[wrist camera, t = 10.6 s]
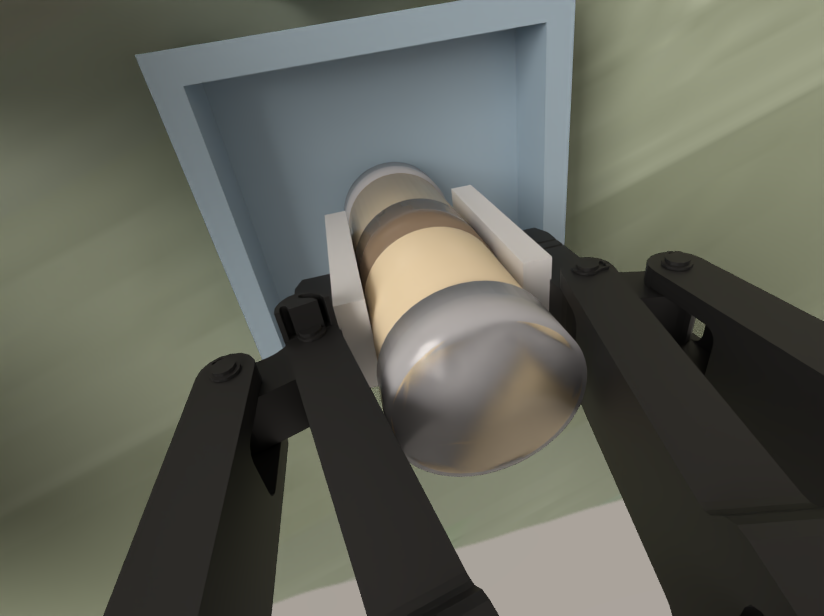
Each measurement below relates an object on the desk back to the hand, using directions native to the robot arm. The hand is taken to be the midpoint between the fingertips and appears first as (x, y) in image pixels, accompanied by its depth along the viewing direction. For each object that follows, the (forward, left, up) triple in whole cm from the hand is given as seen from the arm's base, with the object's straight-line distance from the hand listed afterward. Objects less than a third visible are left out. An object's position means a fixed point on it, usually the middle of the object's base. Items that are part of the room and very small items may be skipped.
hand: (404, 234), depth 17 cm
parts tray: (0, 0, -4) cm, 4 cm away
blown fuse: (0, 0, -3) cm, 3 cm away
